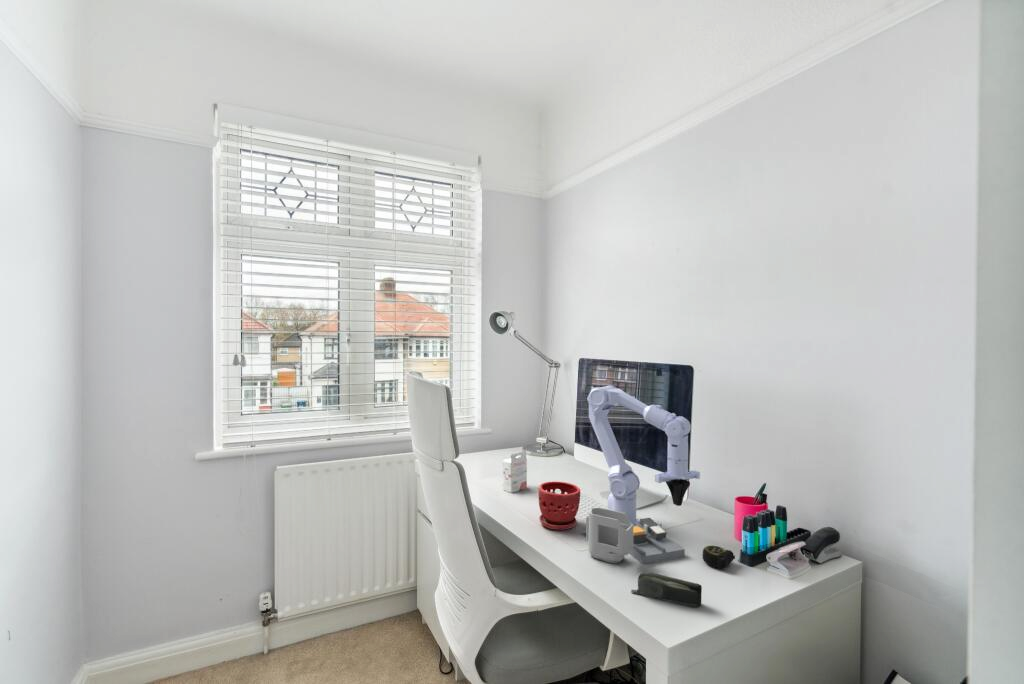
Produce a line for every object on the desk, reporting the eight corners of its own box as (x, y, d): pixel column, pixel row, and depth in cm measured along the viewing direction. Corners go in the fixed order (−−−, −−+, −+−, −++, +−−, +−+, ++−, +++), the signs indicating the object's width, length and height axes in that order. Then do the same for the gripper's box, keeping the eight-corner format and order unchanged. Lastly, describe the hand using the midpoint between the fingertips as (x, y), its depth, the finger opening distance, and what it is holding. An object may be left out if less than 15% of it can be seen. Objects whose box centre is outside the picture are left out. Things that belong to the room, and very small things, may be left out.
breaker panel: (608, 537, 138) (608, 520, 138) (647, 531, 142) (647, 514, 142) (642, 564, 122) (642, 544, 122) (684, 556, 126) (684, 537, 126)
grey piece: (626, 569, 119) (626, 522, 119) (582, 556, 126) (582, 511, 126) (635, 558, 125) (635, 514, 124) (592, 547, 131) (592, 504, 131)
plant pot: (548, 535, 139) (548, 495, 139) (532, 519, 151) (532, 482, 151) (587, 530, 143) (587, 491, 143) (569, 514, 156) (569, 479, 155)
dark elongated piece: (701, 581, 104) (633, 567, 110) (701, 588, 101) (631, 573, 107) (701, 603, 104) (632, 588, 110) (701, 611, 101) (630, 594, 107)
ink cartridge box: (518, 485, 186) (518, 448, 186) (527, 488, 183) (527, 450, 183) (502, 490, 181) (502, 452, 180) (510, 493, 177) (511, 454, 177)
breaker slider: (625, 538, 132) (625, 527, 132) (637, 536, 133) (637, 525, 133) (633, 544, 128) (633, 533, 128) (646, 542, 130) (646, 531, 130)
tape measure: (724, 574, 117) (725, 559, 117) (697, 564, 122) (698, 550, 122) (735, 564, 122) (735, 550, 122) (708, 555, 127) (708, 542, 127)
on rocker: (639, 523, 138) (640, 518, 138) (649, 522, 139) (649, 517, 139) (655, 539, 131) (656, 533, 130) (666, 537, 132) (666, 532, 132)
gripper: (665, 464, 131) (665, 512, 131) (707, 459, 136) (707, 506, 136) (650, 457, 138) (650, 503, 138) (690, 454, 143) (690, 498, 143)
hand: (677, 504), depth 138 cm, fingers closed
